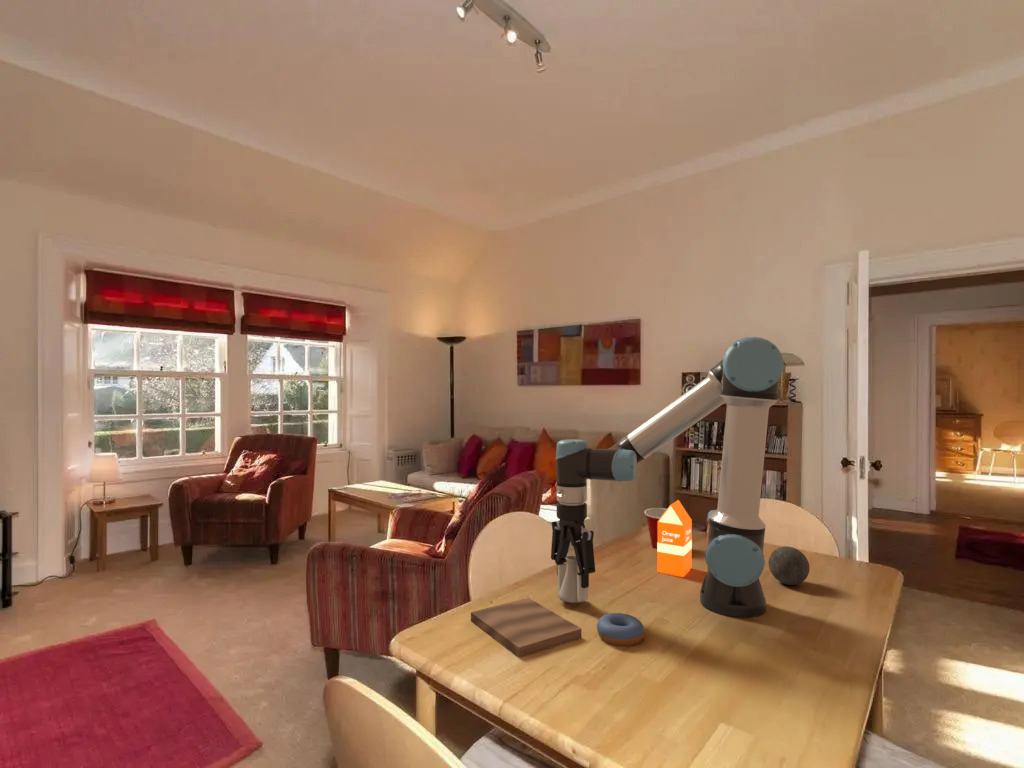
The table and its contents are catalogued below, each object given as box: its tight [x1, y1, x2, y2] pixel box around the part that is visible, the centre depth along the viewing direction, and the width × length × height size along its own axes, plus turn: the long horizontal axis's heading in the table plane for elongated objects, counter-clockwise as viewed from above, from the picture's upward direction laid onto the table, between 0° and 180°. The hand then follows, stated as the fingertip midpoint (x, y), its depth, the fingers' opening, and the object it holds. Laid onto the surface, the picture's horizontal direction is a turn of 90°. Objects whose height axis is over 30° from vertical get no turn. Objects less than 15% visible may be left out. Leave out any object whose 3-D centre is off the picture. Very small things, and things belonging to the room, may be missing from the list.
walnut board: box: [470, 597, 582, 659], centre depth 121 cm, size 20×16×2 cm
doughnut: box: [596, 612, 645, 647], centre depth 118 cm, size 10×10×5 cm
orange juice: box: [656, 499, 693, 578], centre depth 160 cm, size 8×9×20 cm
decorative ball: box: [768, 545, 810, 586], centre depth 150 cm, size 10×10×10 cm
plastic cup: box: [644, 507, 668, 550], centre depth 183 cm, size 11×11×12 cm
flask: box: [557, 555, 584, 604], centre depth 136 cm, size 7×7×10 cm
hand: (572, 594), depth 136 cm, fingers closed on flask, 7 cm apart
